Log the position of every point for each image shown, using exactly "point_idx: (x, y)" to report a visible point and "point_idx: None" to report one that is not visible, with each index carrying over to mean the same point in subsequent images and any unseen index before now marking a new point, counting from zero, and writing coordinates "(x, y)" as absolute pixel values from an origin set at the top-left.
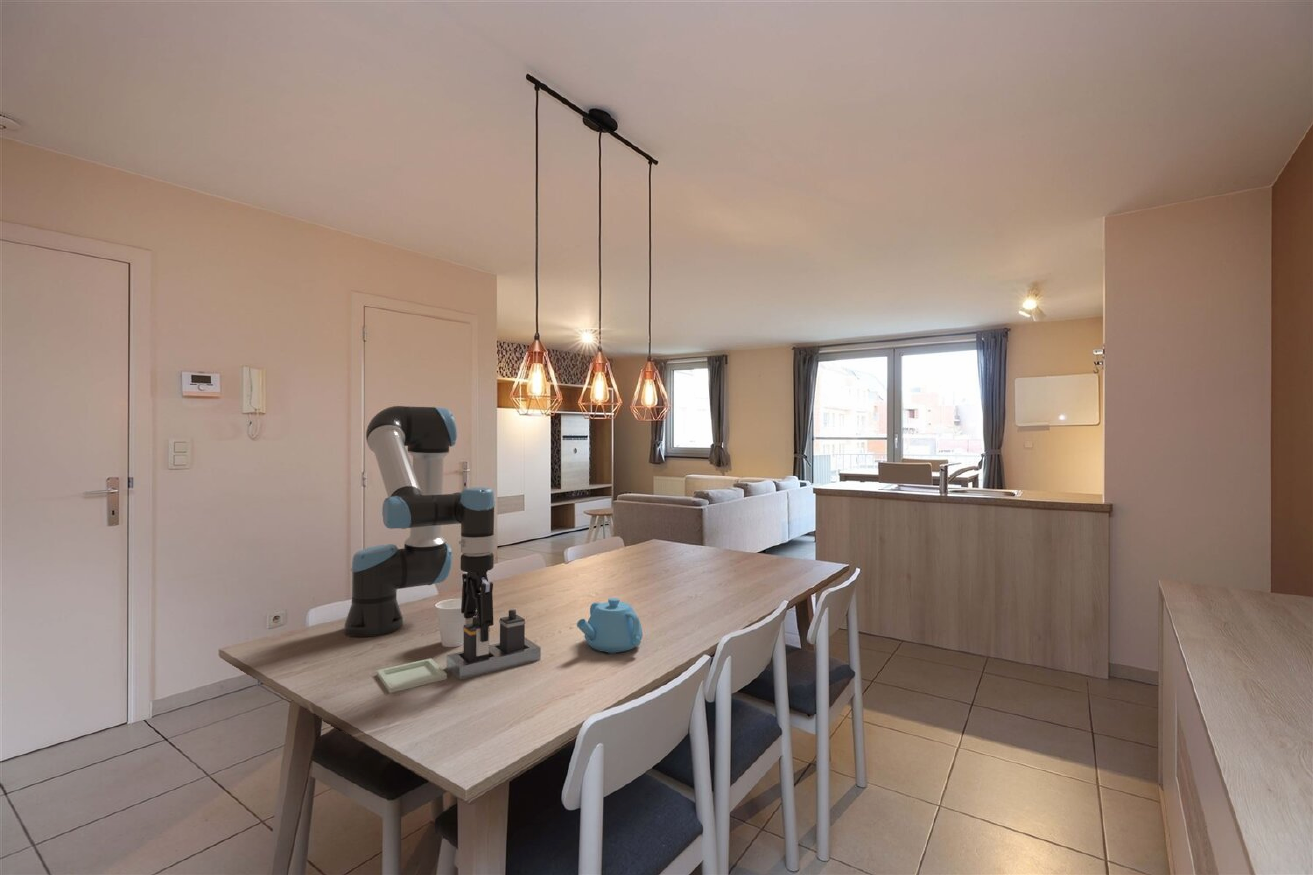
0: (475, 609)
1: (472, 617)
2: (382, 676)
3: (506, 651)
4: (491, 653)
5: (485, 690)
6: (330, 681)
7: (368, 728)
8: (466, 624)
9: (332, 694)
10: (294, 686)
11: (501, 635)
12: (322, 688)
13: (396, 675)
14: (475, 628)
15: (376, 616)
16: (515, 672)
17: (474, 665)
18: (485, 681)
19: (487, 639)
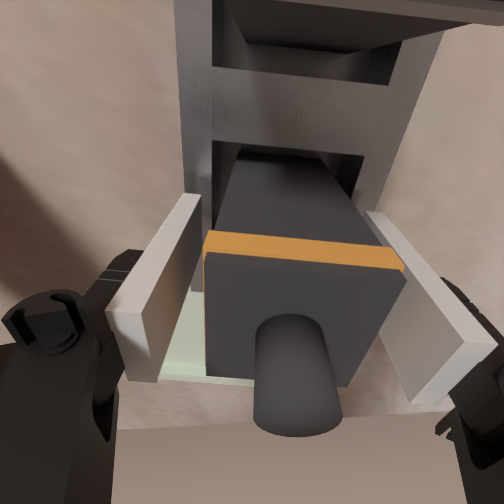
0: (80, 425)
1: (112, 334)
2: (190, 380)
3: (359, 47)
4: (314, 149)
5: (447, 242)
6: (129, 402)
7: (364, 412)
8: (169, 341)
9: (193, 410)
10: (124, 425)
11: (272, 21)
12: (156, 412)
13: (177, 349)
14: (344, 361)
15: None
16: (444, 64)
17: None
18: (392, 212)
19: (453, 289)
